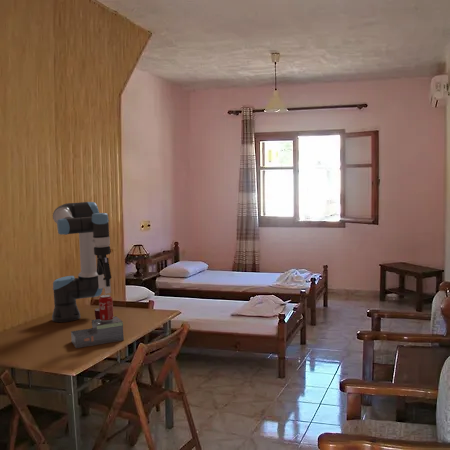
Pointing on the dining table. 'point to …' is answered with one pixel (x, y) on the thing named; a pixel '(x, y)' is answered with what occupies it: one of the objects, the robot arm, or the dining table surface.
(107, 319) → the beverage can
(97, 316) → the mug
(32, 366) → the dining table surface
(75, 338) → the stand
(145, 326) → the dining table surface
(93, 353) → the dining table surface
